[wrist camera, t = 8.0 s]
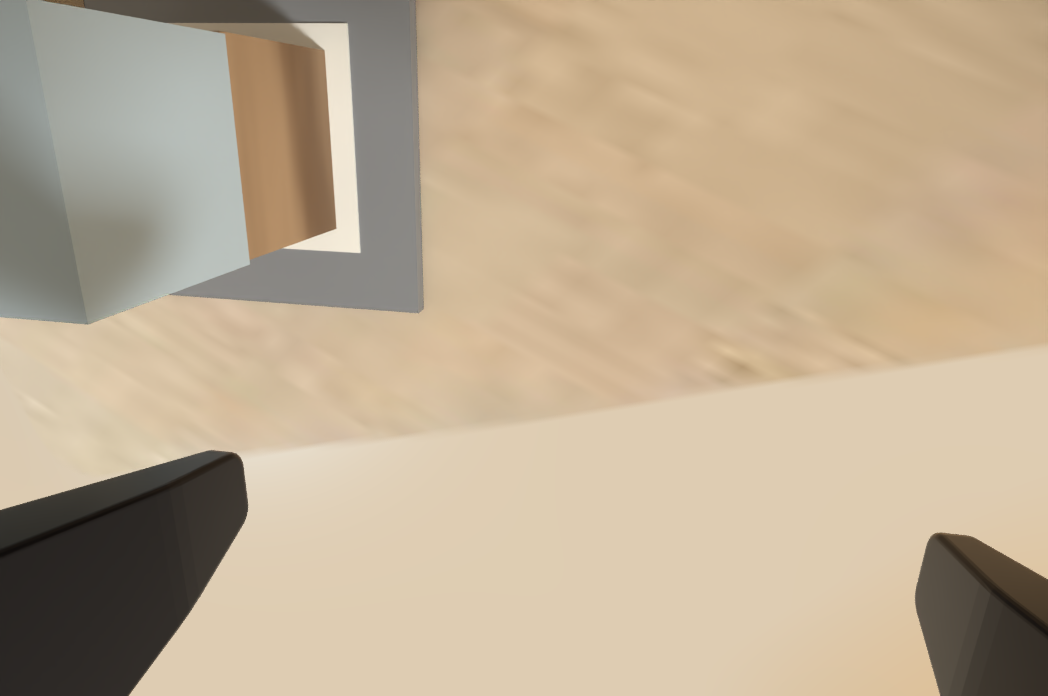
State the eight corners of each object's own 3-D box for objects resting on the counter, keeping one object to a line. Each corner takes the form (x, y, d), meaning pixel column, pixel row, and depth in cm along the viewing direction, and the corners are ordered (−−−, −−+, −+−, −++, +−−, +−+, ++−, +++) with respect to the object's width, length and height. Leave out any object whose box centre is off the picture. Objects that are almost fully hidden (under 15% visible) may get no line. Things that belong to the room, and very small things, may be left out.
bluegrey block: (250, 264, 16) (88, 324, 12) (65, 252, 17) (-155, 303, 13) (225, 33, 15) (25, -2, 10) (22, 32, 16) (-248, -1, 11)
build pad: (413, -48, 19) (406, -53, 18) (423, 308, 22) (417, 313, 21) (89, -43, 20) (73, -47, 20) (142, 288, 24) (131, 292, 23)
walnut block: (324, 50, 19) (219, 30, 15) (336, 228, 21) (245, 261, 16) (164, 48, 20) (17, 29, 16) (188, 220, 22) (61, 249, 17)
